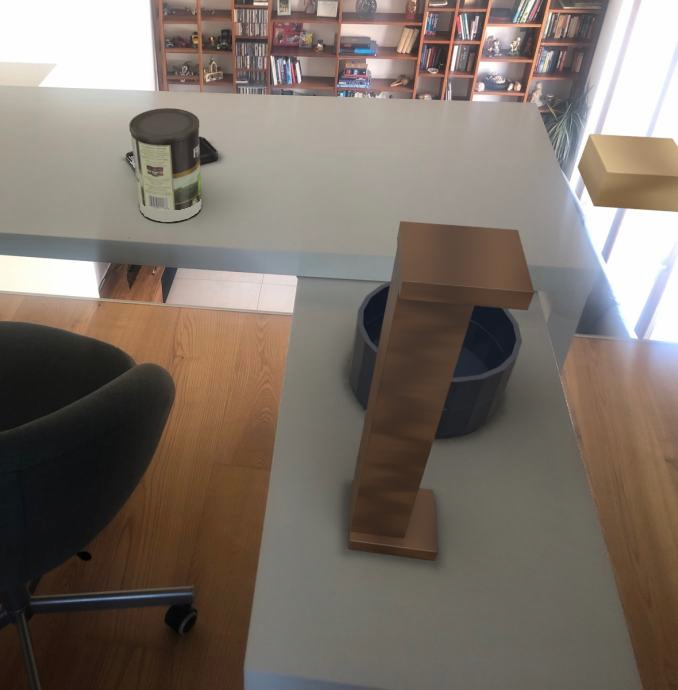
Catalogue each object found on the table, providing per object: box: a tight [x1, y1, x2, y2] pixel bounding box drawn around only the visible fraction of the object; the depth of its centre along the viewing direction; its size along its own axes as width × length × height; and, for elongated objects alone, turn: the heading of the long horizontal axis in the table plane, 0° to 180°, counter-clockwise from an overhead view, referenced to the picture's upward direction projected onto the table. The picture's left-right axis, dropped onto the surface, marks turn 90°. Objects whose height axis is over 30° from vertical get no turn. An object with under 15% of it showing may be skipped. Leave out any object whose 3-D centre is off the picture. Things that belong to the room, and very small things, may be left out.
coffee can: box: [128, 107, 202, 211], centre depth 106 cm, size 10×10×14 cm
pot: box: [348, 281, 523, 439], centre depth 78 cm, size 17×17×9 cm
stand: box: [347, 220, 535, 561], centre depth 57 cm, size 8×7×32 cm
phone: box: [125, 136, 219, 174], centre depth 122 cm, size 8×1×15 cm
